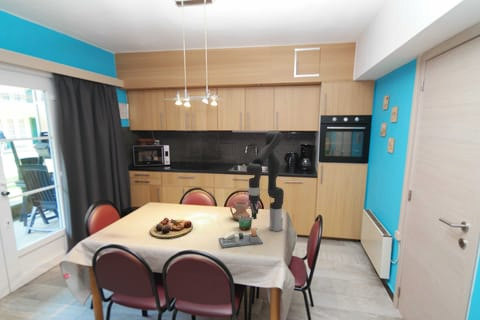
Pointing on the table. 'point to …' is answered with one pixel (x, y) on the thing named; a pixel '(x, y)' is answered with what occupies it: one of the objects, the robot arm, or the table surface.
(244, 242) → the panel
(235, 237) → the grey slider knob
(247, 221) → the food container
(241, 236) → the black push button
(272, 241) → the table surface
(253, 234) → the orange plunger
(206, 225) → the table surface
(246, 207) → the ceramic jug
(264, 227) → the table surface
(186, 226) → the wooden plate with food
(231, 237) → the cream rocker
